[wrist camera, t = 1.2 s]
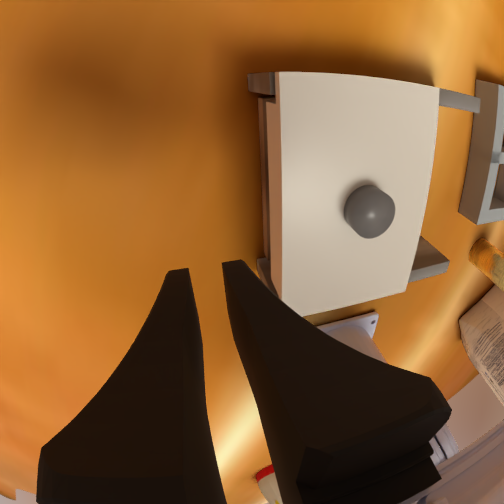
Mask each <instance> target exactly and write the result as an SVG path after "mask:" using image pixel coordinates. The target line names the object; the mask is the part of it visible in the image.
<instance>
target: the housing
mask: <svg viewBox="0 0 504 504" xmlns="http://www.w3.org/2000/svg"><path fill="white" fill-rule="evenodd" d="M248 91H250V92H256V93H262V94H267V95H276V93H275V72H265V73H252V74H248ZM480 99H481V98H477V97H474V96H470V95H466V94H462V93H458V92H454V91H450V90H446V89H441V88H440V90H439V106H445V107H450V108H456V109H461V110H466V111H470V112H475V113H480ZM266 101H276V97H259V98H258V111H259V134H260V157H261V182H262V209H263V237H264V254H265V256H266V257H265V258H259V259H257V271H258V274H259V276H260V279H261V281H262V282H263V283H264V284H265V285H266V286H267V287H268V288H269V289H270V290H271V291H272V292H273V293H274V294H275V295H276V296H278V297H279V295H278V293H277V291H276V289H275V287H274V284H273V282H272V280H271V249H270V205H269V170H268V140H267V113H266ZM449 262H450V261H449V260H448V259H447V258H446V257H445V256H444V255H443V254H442V253H440V252H439V251H438V250H437V249H436V248H435V247H433V246H432V245H431V244H430V243H429V242H427V241H426V240H425V239H424V238H423V237H422V236H420V237H419V241H418V245H417V250H416V254H415V258H414V261H413V265H412V269H411V273H410V276H409V280H408V283H409V282H413V281H417V280H420V279H424V278H428V277H431V276H435V275H438V274H442V273H445V272H447V269H448V266H449Z"/></svg>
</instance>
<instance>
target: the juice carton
mask: <svg viewBox="0 0 504 504" xmlns="http://www.w3.org/2000/svg"><path fill="white" fill-rule="evenodd" d="M459 325H460V329H461V339H462V343H463V345H464V348H465V350H466V352H467V355H468V357H469V359H470V360H471V362H472V363H473V365H474V366H475V368H476V369H477V370H478V372H479V373H480V374H481V376H482V377H483V378H484V380H485V381H486V382H487V384H488V385H489V386H490V388H491V389H492V390H493V392H494V393H495V395H496V396H497V398H498V399H499V401H500V402H501V403H502V405H503V406H504V292H503V291H502V290H501V289H500V288H499V287H498V286H497V285H496V284H495V285H494V286H493V287H492V288H491V289H490V290H489V292H488V293H487V294H486V295H485V296H484V297H483V298H482V299H481V300H480V301H479V302H478V303H476V304H475V305H474V306H473V307H472V308H471V309H470V310H469V311H468V312H467V313H465V314H464V315H463V316H462V317H461V318H460V320H459Z"/></svg>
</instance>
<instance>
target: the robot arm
mask: <svg viewBox="0 0 504 504" xmlns="http://www.w3.org/2000/svg"><path fill="white" fill-rule="evenodd" d="M222 269H223V277H224V285H225V293H226V301H227V308H228V314H229V319H230V324H231V328H232V333H233V337H234V341H235V344H236V347H237V350H238V352H239V355H240V358H241V361H242V364H243V367H244V369H245V372H246V375H247V378H248V381H249V383H250V386H251V389H252V392H253V394H254V398H255V401H256V404H257V407H258V411H259V415H260V419H261V423H262V426H263V430H264V434H265V438H266V442H267V446H268V449H269V453H270V457H271V461H272V465H273V468H274V472H275V476H276V480H277V484H278V488H279V491H280V495H281V499H282V503H283V504H504V420H502V421H501V422H500V423H499V424H497V425H496V426H495V427H494V428H493V429H491V430H490V431H489V432H487V433H486V434H484V435H483V436H482V437H480V438H479V439H477V440H476V441H475V442H473V443H472V444H471V445H469V446H468V447H466V448H465V449H463V450H462V451H460V452H459V451H458V446H457V443H456V441H455V439H454V437H453V436H452V433H451V432H450V430H449V428H448V426H447V425H446V422H447V420H448V419H449V417H450V415H451V411H452V409H451V408H450V406H449V404H448V403H447V401H446V399H445V398H444V396H443V394H442V393H441V391H440V390H439V388H438V387H437V386H436V385H435V383H434V382H433V381H432V380H431V378H430V377H426V376H423V375H420V374H417V373H414V372H410V371H407V370H404V369H401V368H398V367H395V366H392V365H389V364H387V362H386V360H385V359H384V357H383V356H382V354H381V353H380V351H379V349H378V348H377V346H376V345H375V343H374V342H373V340H372V337H373V334H374V331H375V328H376V324H377V321H378V317H379V315H378V313H377V312H372V313H368V314H364V315H360V316H357V317H353V318H349V319H345V320H341V321H337V322H333V323H329V324H325V325H321V326H316V327H315V326H314V325H312V324H311V323H310V322H308V321H307V320H305V319H304V318H303V317H301V316H300V315H299V314H298V313H296V312H295V311H294V310H293V309H291V308H290V307H289V306H288V305H287V304H285V303H284V302H283V301H282V300H281V299H280V298H279V297H278V296H276V295H275V294H274V293H273V292H272V291H271V290H270V289H269V288H268V287H267V286H266V285H265V284H264V283H263V282H262V281H261V280H260V279H259V278H258V277H257V276H256V275H255V274H254V272H253V271H252V270H251V269H250V268H249V267H248V265H247V264H246V263H245V262H244V261H243V260H235V261H229V262H223V263H222ZM439 446H440V447H439ZM440 448H441V449H440ZM441 450H442V451H441ZM36 502H37V503H38V504H227V502H226V499H225V495H224V491H223V487H222V483H221V478H220V474H219V470H218V465H217V461H216V456H215V451H214V447H213V442H212V437H211V432H210V426H209V421H208V415H207V407H206V396H205V380H204V362H203V343H202V337H201V330H200V324H199V317H198V312H197V308H196V303H195V298H194V293H193V288H192V283H191V278H190V273H189V268H184V269H178V270H172V271H169V272H168V273H167V274H166V277H165V280H164V282H163V285H162V287H161V290H160V292H159V294H158V296H157V299H156V301H155V303H154V305H153V307H152V309H151V311H150V313H149V315H148V317H147V319H146V321H145V323H144V325H143V326H142V328H141V330H140V332H139V334H138V335H137V337H136V339H135V341H134V342H133V344H132V346H131V347H130V349H129V350H128V352H127V354H126V355H125V357H124V358H123V360H122V361H121V362H120V364H119V365H118V367H117V368H116V369H115V371H114V372H113V373H112V375H111V376H110V377H109V379H108V380H107V382H106V383H105V384H104V385H103V387H102V388H101V389H100V390H99V392H98V393H97V394H96V395H95V396H94V397H93V398H92V399H91V401H90V402H89V403H88V404H87V405H86V406H85V407H84V408H83V409H82V411H81V412H80V413H79V414H78V415H77V416H76V417H75V418H74V419H73V420H72V421H71V422H70V423H69V424H68V425H67V426H65V427H64V428H63V429H62V430H61V431H60V432H59V433H58V434H57V435H55V436H54V437H53V438H52V439H51V440H50V441H49V442H48V443H46V444H45V445H44V446H43V447H42V448H41V453H40V458H39V464H38V476H37V495H36Z"/></svg>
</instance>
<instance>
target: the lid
mask: <svg viewBox="0 0 504 504" xmlns="http://www.w3.org/2000/svg"><path fill="white" fill-rule="evenodd" d="M439 90H440V88H437V87H432V86H428V85H422V84H417V83H411V82H405V81H399V80H392V79H385V78H378V77H369V76H360V75H349V74H335V73H317V72H275V93H276V101H266V113H267V140H268V170H269V205H270V249H271V280H272V282H273V284H274V287H275V289H276V291H277V293H278V295H279V298H280V299H281V300H282V301H283V302H284V303H285V304H287V305H288V306H289V307H290V308H291V309H293V310H294V311H295V312H296V313H298V314H299V315H300V316H301V317H303V316H308V315H312V314H317V313H321V312H325V311H330V310H334V309H338V308H343V307H347V306H351V305H355V304H359V303H363V302H367V301H371V300H375V299H378V298H382V297H386V296H390V295H393V294H397V293H401V292H404V291H405V290H406V287H407V283H408V280H409V276H410V273H411V269H412V265H413V261H414V258H415V254H416V250H417V245H418V241H419V237H420V232H421V228H422V223H423V218H424V214H425V208H426V203H427V198H428V192H429V186H430V180H431V174H432V167H433V159H434V151H435V143H436V133H437V122H438V109H439Z"/></svg>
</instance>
